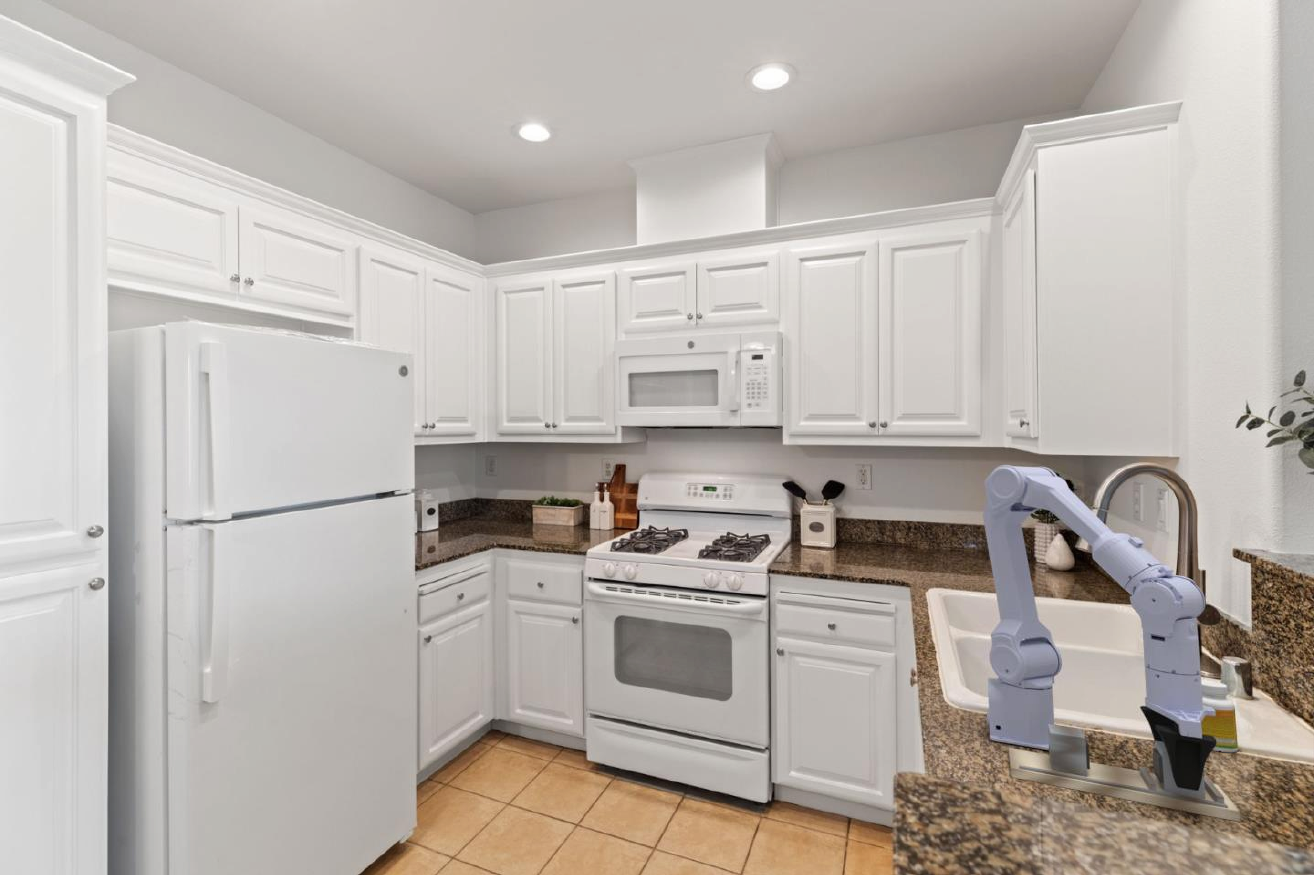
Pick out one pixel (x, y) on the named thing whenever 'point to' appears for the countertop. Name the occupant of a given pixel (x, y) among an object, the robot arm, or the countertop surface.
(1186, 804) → the rail
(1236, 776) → the countertop surface
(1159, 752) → the finger part
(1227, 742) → the supplement bottle
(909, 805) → the countertop surface
